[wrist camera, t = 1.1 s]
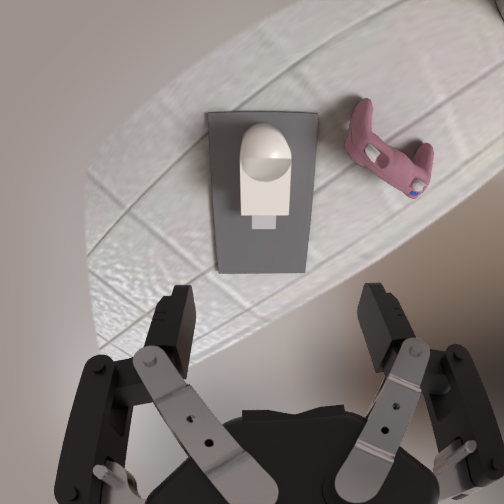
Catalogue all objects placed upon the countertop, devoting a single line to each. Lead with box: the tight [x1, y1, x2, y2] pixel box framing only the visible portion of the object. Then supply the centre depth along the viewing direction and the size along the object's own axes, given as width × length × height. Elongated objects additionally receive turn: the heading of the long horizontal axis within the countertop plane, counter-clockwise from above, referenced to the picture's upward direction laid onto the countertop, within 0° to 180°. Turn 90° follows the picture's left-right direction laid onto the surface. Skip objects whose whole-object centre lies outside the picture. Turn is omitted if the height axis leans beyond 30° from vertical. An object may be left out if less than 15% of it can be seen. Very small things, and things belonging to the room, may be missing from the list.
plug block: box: [240, 123, 291, 229], centre depth 27 cm, size 9×4×5 cm, turn 0°
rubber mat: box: [208, 112, 318, 274], centre depth 31 cm, size 18×10×1 cm, turn 0°
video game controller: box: [345, 98, 434, 199], centre depth 25 cm, size 10×5×7 cm, turn 65°
